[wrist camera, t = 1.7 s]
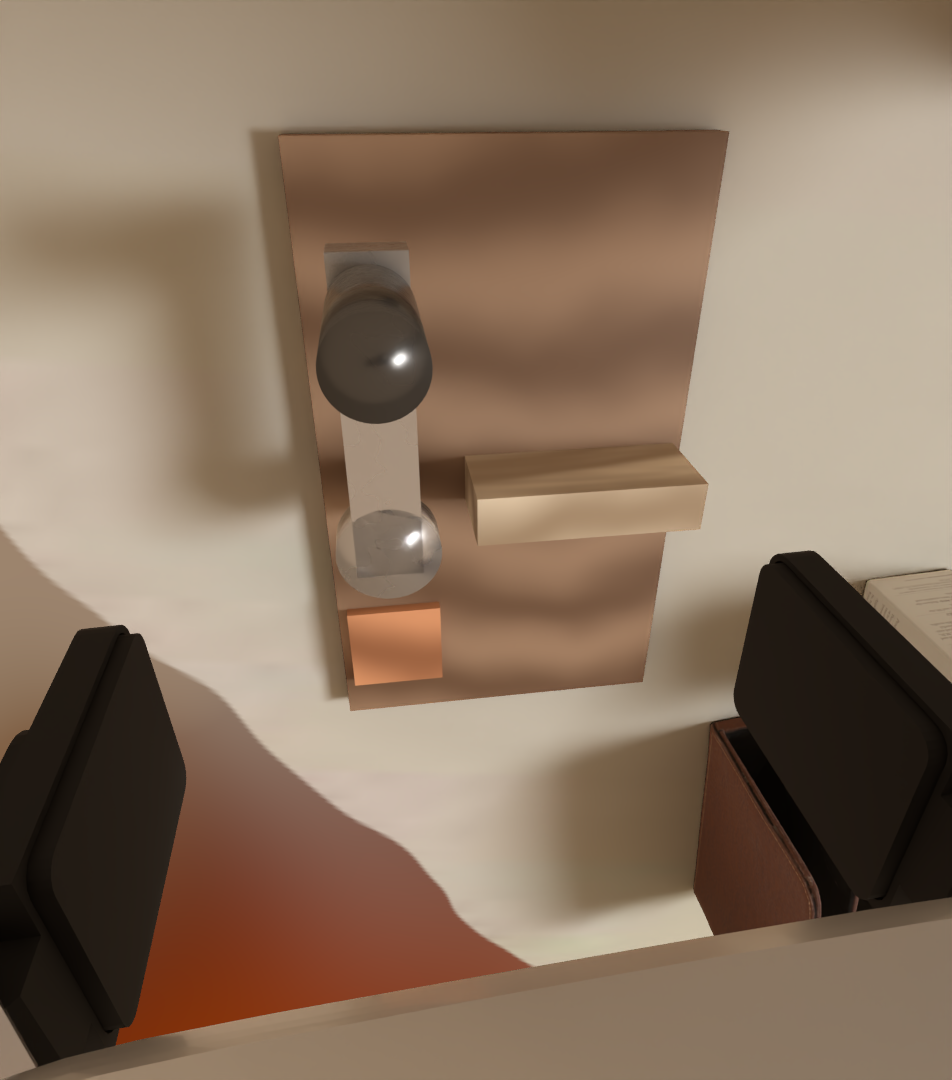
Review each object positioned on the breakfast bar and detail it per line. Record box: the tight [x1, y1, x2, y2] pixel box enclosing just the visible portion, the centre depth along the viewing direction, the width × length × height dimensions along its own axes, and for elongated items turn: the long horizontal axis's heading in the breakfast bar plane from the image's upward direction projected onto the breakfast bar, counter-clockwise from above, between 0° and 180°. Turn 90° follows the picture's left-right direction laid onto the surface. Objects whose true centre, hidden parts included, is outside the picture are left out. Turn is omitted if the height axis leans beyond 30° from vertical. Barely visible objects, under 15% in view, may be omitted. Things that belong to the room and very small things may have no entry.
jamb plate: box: [278, 130, 729, 711], centre depth 36 cm, size 30×18×6 cm, turn 0°
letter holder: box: [693, 717, 873, 936], centre depth 50 cm, size 10×20×14 cm, turn 6°
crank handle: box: [316, 241, 442, 599], centre depth 26 cm, size 14×4×8 cm, turn 0°
